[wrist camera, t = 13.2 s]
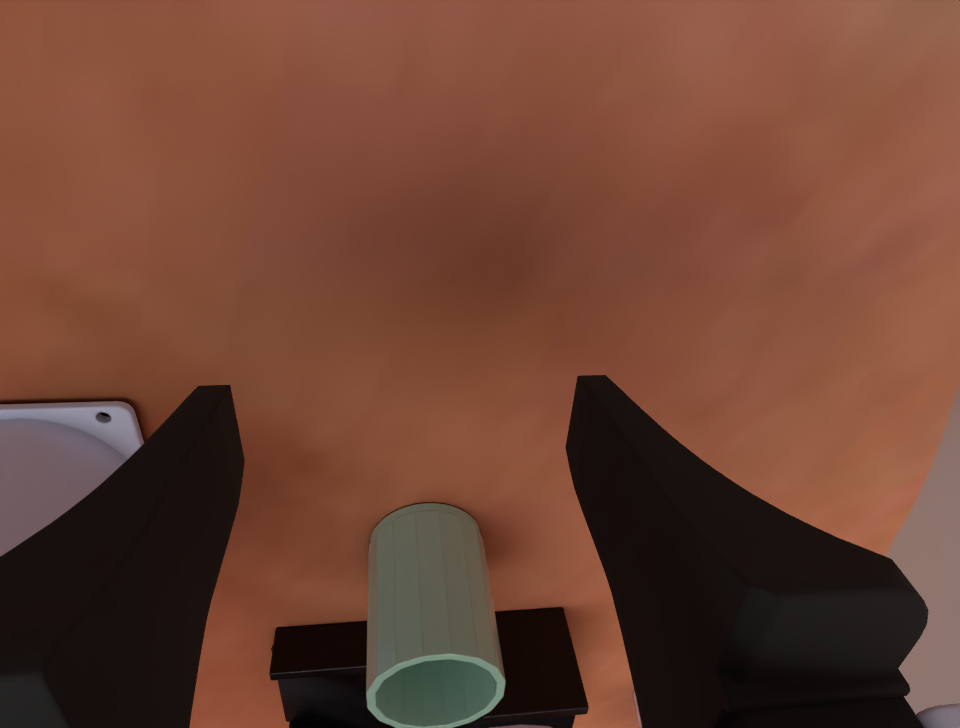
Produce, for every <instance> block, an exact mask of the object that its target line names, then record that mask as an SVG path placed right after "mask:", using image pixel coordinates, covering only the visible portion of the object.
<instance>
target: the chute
mask: <svg viewBox="0 0 960 728" xmlns="http://www.w3.org/2000/svg"><path fill="white" fill-rule="evenodd" d="M273 645H274V644H273ZM271 650H272V652H273V646H272V648H271ZM278 684H279V689H280V694H281V699H282V703H283V708H284V713H285V718H286V721H287V722H293V723H299V724H304V725H310V726H316V727H322V728H395V727H393V726H390V725H388V724H386V723H383V722H381V721H379V720H378V719H377V718H376V717H375V716H374V715H373V714H372V713H371V712H370V711H369V710H368V708H367V699H366V673H357V674H345V675H333V676H321V677H308V678H296V679H284V680H278ZM574 719H575V715H570V716H560V717H549V718H538V719H528V720H517V721H506V722H496V723H484V722H483V716H481V717H480V718H478V719H476V720H475V721H472V722H470V723H467V724H464V725H460V726H457V727H454V728H491V727H501V726H512V725H538V726H550V727H552V728H572V727H573V723H574Z"/></svg>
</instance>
